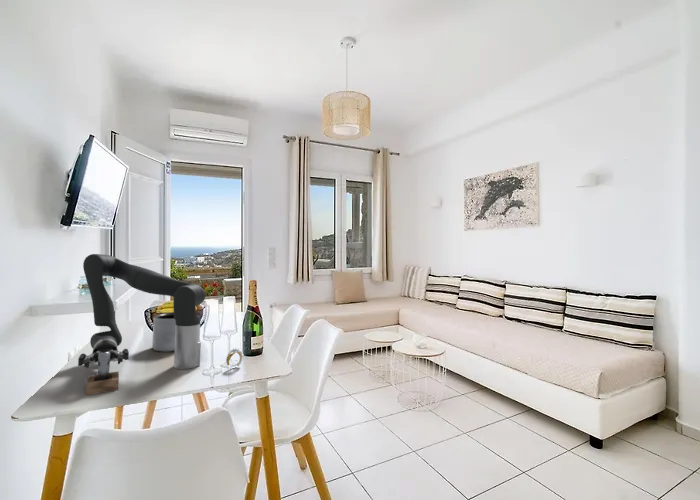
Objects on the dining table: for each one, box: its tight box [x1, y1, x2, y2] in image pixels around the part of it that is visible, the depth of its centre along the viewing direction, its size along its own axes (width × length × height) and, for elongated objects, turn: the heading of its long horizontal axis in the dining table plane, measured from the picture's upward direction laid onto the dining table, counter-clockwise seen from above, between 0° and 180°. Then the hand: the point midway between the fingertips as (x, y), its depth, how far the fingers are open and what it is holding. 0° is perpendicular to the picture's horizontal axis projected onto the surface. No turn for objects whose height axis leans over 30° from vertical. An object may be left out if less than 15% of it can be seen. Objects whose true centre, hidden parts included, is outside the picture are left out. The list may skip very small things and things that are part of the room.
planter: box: [151, 312, 176, 353], centre depth 163 cm, size 16×16×16 cm
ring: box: [225, 347, 244, 367], centre depth 138 cm, size 7×3×8 cm, turn 138°
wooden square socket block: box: [85, 371, 120, 396], centre depth 115 cm, size 9×9×4 cm
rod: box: [97, 351, 111, 381], centre depth 115 cm, size 3×3×12 cm
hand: (103, 363), depth 114 cm, fingers open, 8 cm apart
